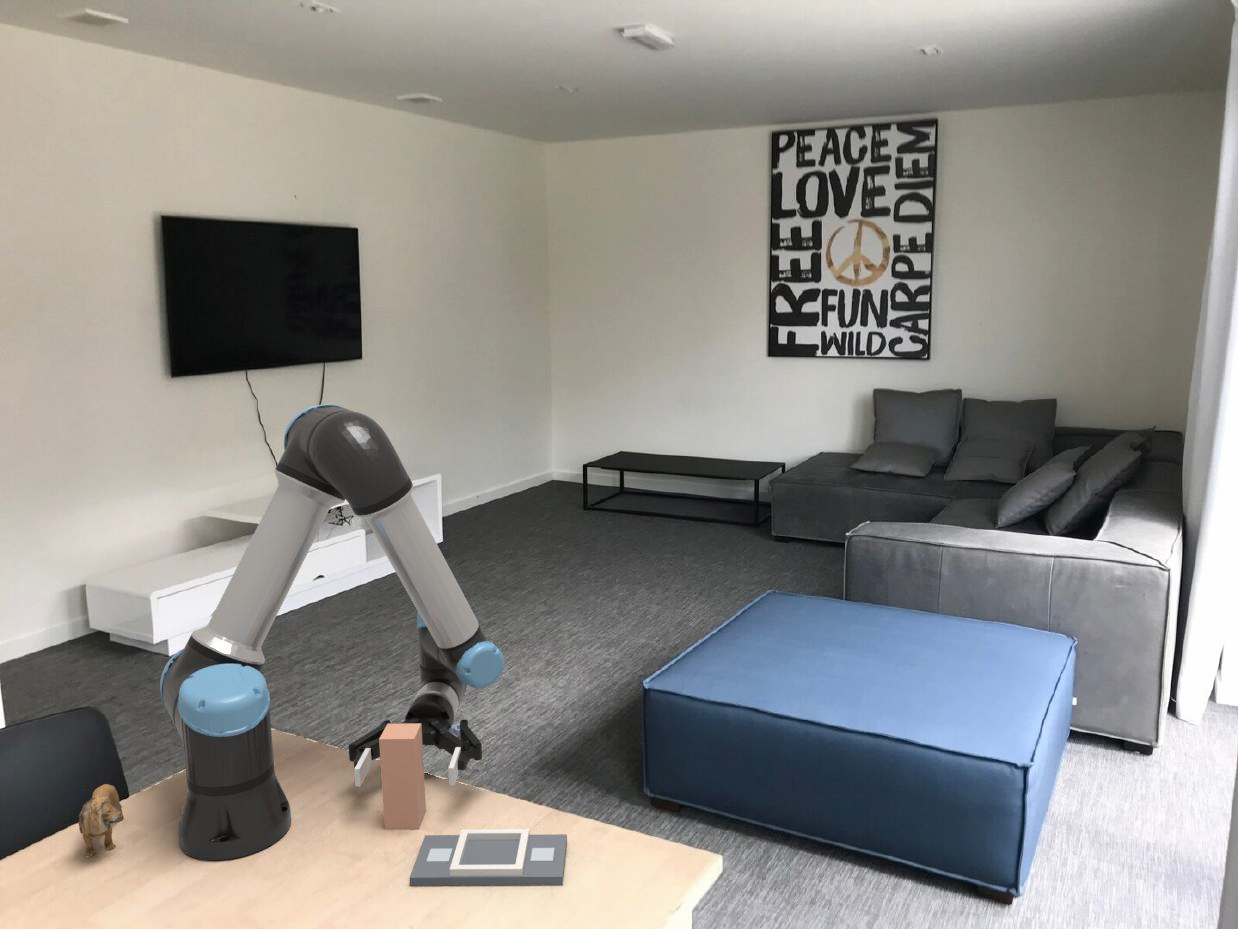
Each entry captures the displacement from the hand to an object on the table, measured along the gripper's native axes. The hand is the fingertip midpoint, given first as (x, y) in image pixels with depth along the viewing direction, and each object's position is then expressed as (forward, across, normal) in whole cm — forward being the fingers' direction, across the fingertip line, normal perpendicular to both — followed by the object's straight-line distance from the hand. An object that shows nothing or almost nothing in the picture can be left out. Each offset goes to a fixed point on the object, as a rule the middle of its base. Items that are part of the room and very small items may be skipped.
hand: (404, 777), depth 142 cm
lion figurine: (+3, +42, -8) cm, 43 cm away
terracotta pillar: (-1, 0, -7) cm, 8 cm away
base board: (+10, -14, -7) cm, 18 cm away
